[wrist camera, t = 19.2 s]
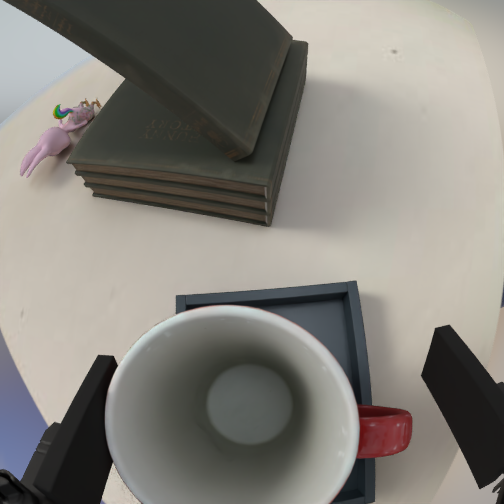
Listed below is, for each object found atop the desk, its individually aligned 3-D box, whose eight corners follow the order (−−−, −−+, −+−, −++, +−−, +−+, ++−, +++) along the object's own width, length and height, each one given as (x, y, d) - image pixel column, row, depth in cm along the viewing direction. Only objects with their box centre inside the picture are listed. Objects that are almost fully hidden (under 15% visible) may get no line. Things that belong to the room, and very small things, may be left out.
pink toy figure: (84, 114, 39) (18, 182, 31) (73, 82, 34) (-2, 150, 26) (112, 115, 37) (42, 190, 30) (101, 81, 32) (20, 154, 25)
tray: (348, 290, 25) (356, 280, 22) (365, 492, 18) (375, 502, 15) (184, 303, 25) (175, 295, 23) (196, 505, 18) (189, 517, 16)
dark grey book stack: (270, 228, 27) (258, -106, 4) (92, 196, 30) (-33, 9, 7) (306, 80, 36) (313, -95, 13) (171, 71, 39) (133, -76, 16)
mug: (180, 444, 20) (90, 499, 7) (201, 336, 23) (130, 282, 11) (343, 469, 18) (417, 544, 6) (362, 359, 22) (460, 330, 9)
